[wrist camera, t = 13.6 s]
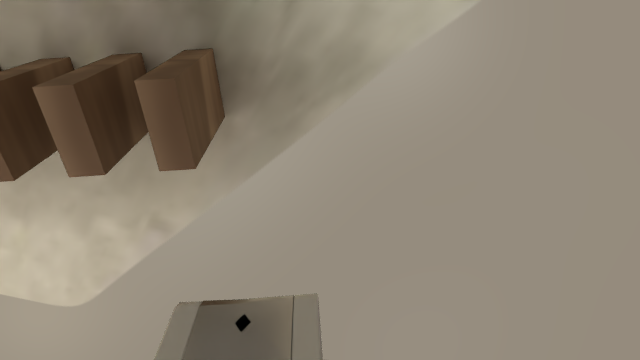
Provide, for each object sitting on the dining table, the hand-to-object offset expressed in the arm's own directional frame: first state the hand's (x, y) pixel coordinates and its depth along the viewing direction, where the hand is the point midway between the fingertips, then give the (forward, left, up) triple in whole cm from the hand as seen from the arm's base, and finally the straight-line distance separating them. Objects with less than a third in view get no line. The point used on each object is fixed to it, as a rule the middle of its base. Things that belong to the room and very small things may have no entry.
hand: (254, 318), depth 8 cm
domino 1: (-16, 0, -22) cm, 27 cm away
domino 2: (-11, 0, -22) cm, 25 cm away
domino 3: (-6, 0, -22) cm, 23 cm away
